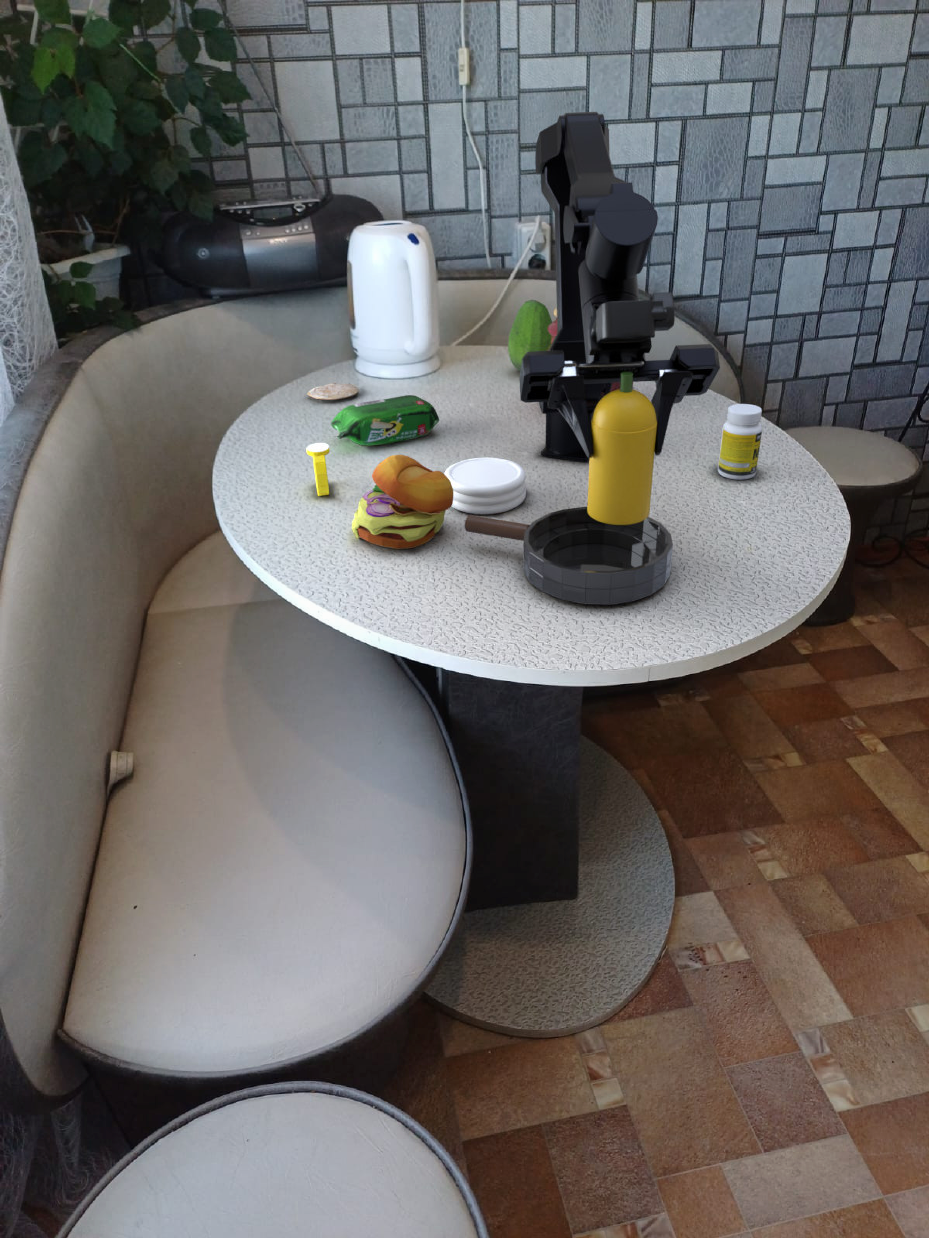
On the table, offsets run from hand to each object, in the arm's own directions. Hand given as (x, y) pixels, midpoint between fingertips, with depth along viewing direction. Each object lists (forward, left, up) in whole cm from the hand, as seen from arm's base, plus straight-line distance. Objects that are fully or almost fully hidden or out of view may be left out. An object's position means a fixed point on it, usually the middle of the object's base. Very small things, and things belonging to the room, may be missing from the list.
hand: (624, 455), depth 89 cm
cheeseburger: (-25, +1, -14) cm, 29 cm away
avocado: (-32, +62, -14) cm, 72 cm away
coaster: (-20, +13, -14) cm, 28 cm away
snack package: (-41, +27, -14) cm, 51 cm away
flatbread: (-58, +41, -13) cm, 73 cm away
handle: (-13, 0, -11) cm, 17 cm away
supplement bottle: (+7, +31, -14) cm, 35 cm away
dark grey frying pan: (-2, 0, -13) cm, 14 cm away
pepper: (-1, +1, -7) cm, 7 cm away
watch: (-40, +8, -14) cm, 43 cm away
